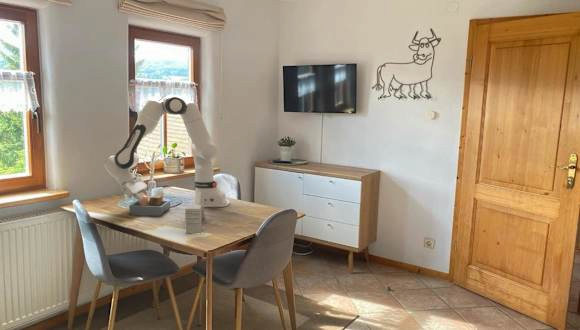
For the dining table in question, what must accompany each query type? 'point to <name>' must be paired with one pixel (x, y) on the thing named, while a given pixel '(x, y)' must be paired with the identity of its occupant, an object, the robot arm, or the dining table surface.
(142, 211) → the box
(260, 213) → the dining table surface
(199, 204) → the round bodied animal figurine
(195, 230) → the supplement box
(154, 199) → the walnut block
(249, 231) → the dining table surface
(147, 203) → the ball
